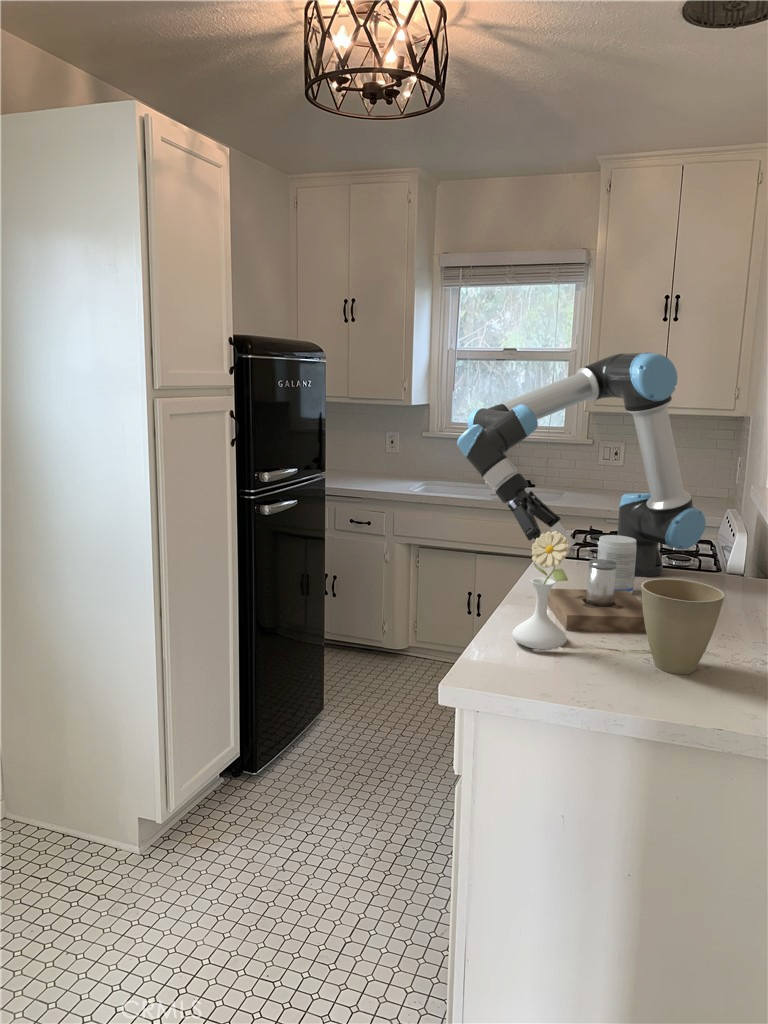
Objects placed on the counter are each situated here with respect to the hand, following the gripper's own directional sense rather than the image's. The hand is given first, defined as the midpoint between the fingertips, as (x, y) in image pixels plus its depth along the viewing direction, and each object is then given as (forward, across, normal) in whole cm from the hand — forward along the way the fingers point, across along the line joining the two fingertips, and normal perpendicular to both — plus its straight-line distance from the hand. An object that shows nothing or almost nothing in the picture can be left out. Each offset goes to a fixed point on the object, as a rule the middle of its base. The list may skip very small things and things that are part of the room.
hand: (564, 551), depth 172 cm
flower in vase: (+12, +22, -10) cm, 27 cm away
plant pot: (+31, +20, +9) cm, 38 cm away
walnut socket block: (+17, 0, -4) cm, 18 cm away
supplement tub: (+16, -26, -6) cm, 31 cm away
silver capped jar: (+16, 0, -4) cm, 17 cm away
